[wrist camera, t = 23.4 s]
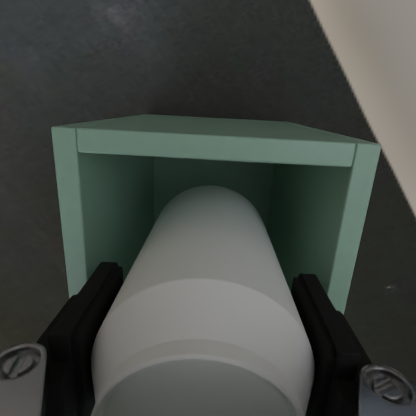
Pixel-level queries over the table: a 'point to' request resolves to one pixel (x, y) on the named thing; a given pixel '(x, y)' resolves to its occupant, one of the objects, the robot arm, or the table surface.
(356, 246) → the pale green hollow box
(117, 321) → the beverage can
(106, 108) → the table surface
